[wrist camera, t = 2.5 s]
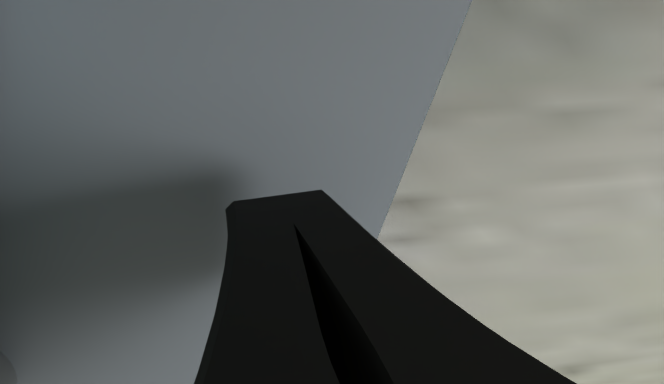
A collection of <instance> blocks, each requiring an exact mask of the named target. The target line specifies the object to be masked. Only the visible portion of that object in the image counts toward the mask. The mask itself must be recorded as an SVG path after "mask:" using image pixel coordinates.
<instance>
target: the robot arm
mask: <svg viewBox="0 0 664 384" xmlns="http://www.w3.org/2000/svg"><path fill="white" fill-rule="evenodd" d="M225 212H226V222H227V232H228V239H227V250H226V258H225V266H224V271H223V276H222V281H221V286H220V291H219V296H218V301H217V306H216V310H215V314H214V318H213V322H212V325H211V329H210V332H209V336H208V339H207V343H206V346H205V349H204V353H203V356H202V360H201V363H200V366H199V370H198V373H197V376H196V379H195V382H194V384H576V383H575V382H573V381H571V380H569V379H568V378H566V377H564V376H563V375H561V374H559V373H558V372H556V371H555V370H553V369H551V368H550V367H548V366H547V365H545V364H543V363H542V362H540V361H539V360H537V359H535V358H534V357H532V356H531V355H529V354H527V353H526V352H524V351H523V350H521V349H519V348H518V347H516V346H515V345H513V344H512V343H510V342H508V341H507V340H505V339H504V338H502V337H501V336H500V335H498V334H497V333H495V332H494V331H492V330H491V329H489V328H488V327H486V326H485V325H483V324H482V323H481V322H479V321H478V320H477V319H475V318H474V317H472V316H471V315H470V314H468V313H467V312H466V311H464V310H463V309H461V308H460V307H459V306H457V305H456V304H455V303H453V302H452V301H451V300H449V299H448V298H447V297H445V296H444V295H443V294H442V293H440V292H439V291H438V290H436V289H435V288H434V287H433V286H431V285H430V284H429V283H428V282H426V281H425V280H424V279H423V278H422V277H420V276H419V275H418V274H417V273H416V272H414V271H413V270H412V269H411V268H409V267H408V266H407V265H406V264H405V263H403V262H402V261H401V260H400V259H399V258H397V257H396V256H395V255H394V254H393V253H392V252H390V251H389V250H388V249H387V248H386V247H385V246H384V245H382V244H381V243H380V242H379V241H378V240H377V239H376V238H375V237H373V236H372V235H371V234H370V233H369V232H368V231H367V230H366V229H365V228H363V227H362V226H361V225H360V224H359V223H358V222H357V221H356V220H355V219H354V218H353V217H351V216H350V215H349V214H348V213H347V212H346V211H345V210H344V209H343V208H342V207H341V206H340V205H339V204H337V203H336V202H335V201H334V200H333V199H332V198H331V197H330V196H329V195H327V194H326V193H325V192H324V191H323V190H322V189H321V190H314V191H306V192H299V193H291V194H284V195H276V196H269V197H261V198H254V199H246V200H239V201H233V202H232V203H231V204H230V205H229V206H228V207H227V208H226V209H225Z"/></svg>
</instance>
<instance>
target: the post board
mask: <svg viewBox="0 0 664 384" xmlns="http://www.w3.org/2000/svg"><path fill="white" fill-rule="evenodd" d="M471 2H472V0H0V351H1V352H2V353H3V354H4V355H5V356H6V357H7V358H8V360H9V361H10V362H11V364H12V365H13V367H14V369H15V372H16V375H17V384H194V382H195V379H196V376H197V373H198V370H199V366H200V363H201V360H202V356H203V353H204V349H205V346H206V343H207V339H208V336H209V332H210V329H211V325H212V322H213V318H214V314H215V310H216V306H217V301H218V296H219V291H220V286H221V281H222V276H223V271H224V266H225V258H226V250H227V239H228V232H227V222H226V212H225V209H226V208H227V207H228V206H229V205H230V204H231V203H232V202H233V201H239V200H246V199H254V198H261V197H269V196H276V195H284V194H291V193H299V192H306V191H314V190H321V189H322V190H323V191H324V192H325V193H326V194H327V195H329V196H330V197H331V198H332V199H333V200H334V201H335V202H336V203H337V204H339V205H340V206H341V207H342V208H343V209H344V210H345V211H346V212H347V213H348V214H349V215H350V216H351V217H353V218H354V219H355V220H356V221H357V222H358V223H359V224H360V225H361V226H362V227H363V228H365V229H366V230H367V231H368V232H369V233H370V234H371V235H372V236H373V237H375V238H376V239H377V238H378V235H379V233H380V230H381V228H382V225H383V223H384V220H385V218H386V215H387V213H388V210H389V208H390V205H391V203H392V200H393V198H394V195H395V193H396V190H397V188H398V185H399V183H400V180H401V178H402V175H403V173H404V170H405V168H406V165H407V163H408V160H409V158H410V155H411V153H412V150H413V147H414V145H415V142H416V140H417V137H418V135H419V132H420V130H421V127H422V125H423V122H424V120H425V117H426V115H427V112H428V110H429V107H430V105H431V102H432V100H433V97H434V95H435V92H436V90H437V87H438V85H439V82H440V80H441V77H442V75H443V72H444V70H445V67H446V65H447V62H448V60H449V57H450V55H451V52H452V50H453V47H454V45H455V42H456V40H457V37H458V34H459V32H460V29H461V27H462V24H463V22H464V19H465V17H466V14H467V12H468V9H469V7H470V4H471Z"/></svg>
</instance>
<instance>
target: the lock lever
mask: <svg viewBox="0 0 664 384" xmlns="http://www.w3.org/2000/svg"><path fill="white" fill-rule="evenodd" d="M0 384H17V375H16V372H15V369H14V367H13V365H12V364H11V362H10V361H9V360H8V358H7V357H6V356H5V355H4V354H3V353H2V352H1V351H0Z"/></svg>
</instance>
